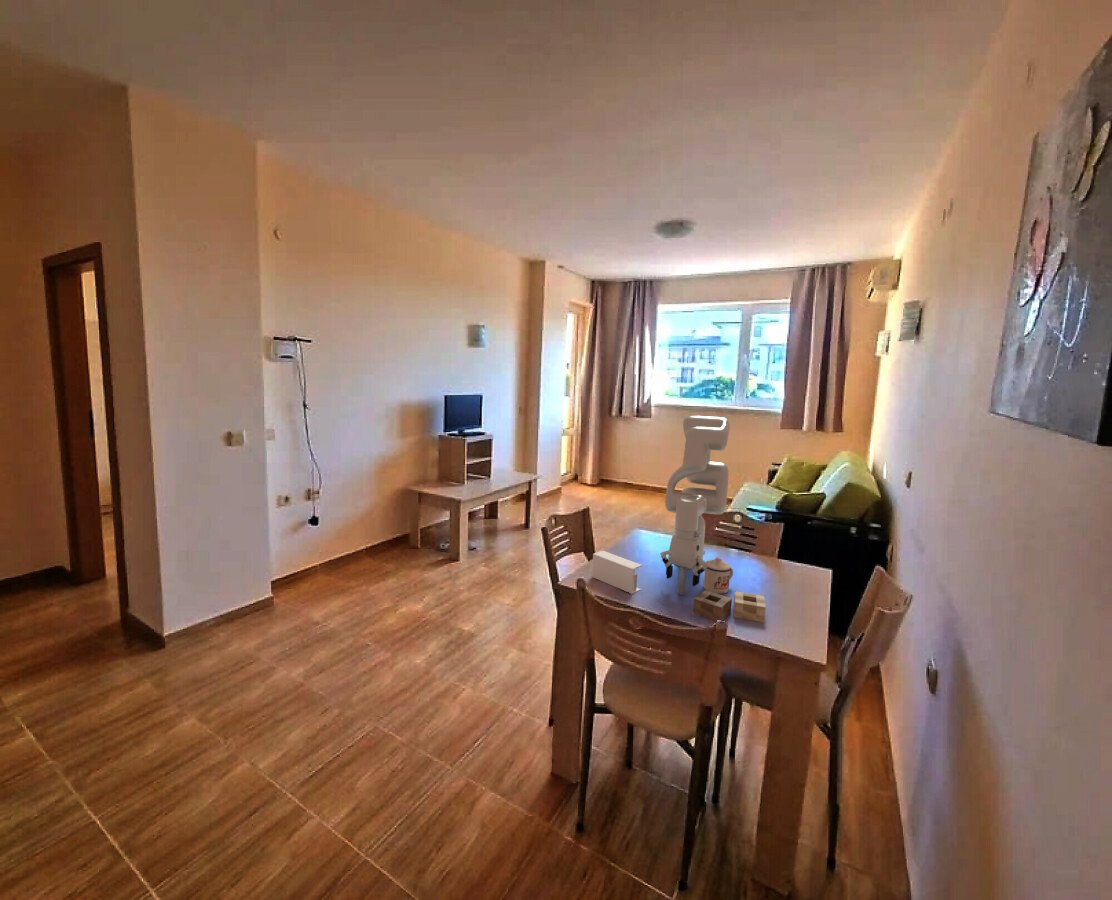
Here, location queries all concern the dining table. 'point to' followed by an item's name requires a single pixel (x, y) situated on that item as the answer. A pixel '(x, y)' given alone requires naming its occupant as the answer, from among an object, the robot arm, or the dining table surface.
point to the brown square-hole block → (712, 605)
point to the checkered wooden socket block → (749, 606)
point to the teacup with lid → (717, 576)
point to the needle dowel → (682, 580)
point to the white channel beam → (615, 571)
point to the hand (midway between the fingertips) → (682, 581)
